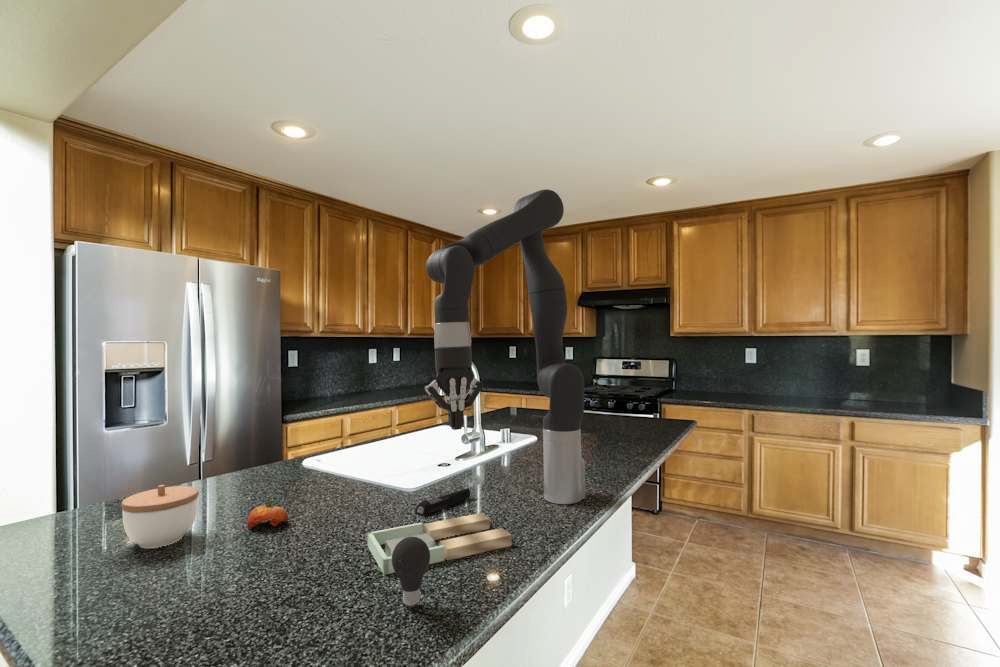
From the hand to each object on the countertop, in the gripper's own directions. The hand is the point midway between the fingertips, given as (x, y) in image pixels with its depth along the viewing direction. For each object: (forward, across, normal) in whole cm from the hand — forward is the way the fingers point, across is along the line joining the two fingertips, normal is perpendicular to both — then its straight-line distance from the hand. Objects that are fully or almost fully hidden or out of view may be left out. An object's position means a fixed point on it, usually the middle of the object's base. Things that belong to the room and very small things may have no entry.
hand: (456, 428), depth 100 cm
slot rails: (+21, +1, +4) cm, 21 cm away
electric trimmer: (+22, -3, -16) cm, 27 cm away
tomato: (+20, +34, -24) cm, 47 cm away
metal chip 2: (+21, +10, +5) cm, 24 cm away
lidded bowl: (+20, +53, -26) cm, 63 cm away
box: (+21, +13, +4) cm, 25 cm away
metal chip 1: (+21, +14, +4) cm, 26 cm away
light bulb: (+21, +18, +22) cm, 35 cm away
